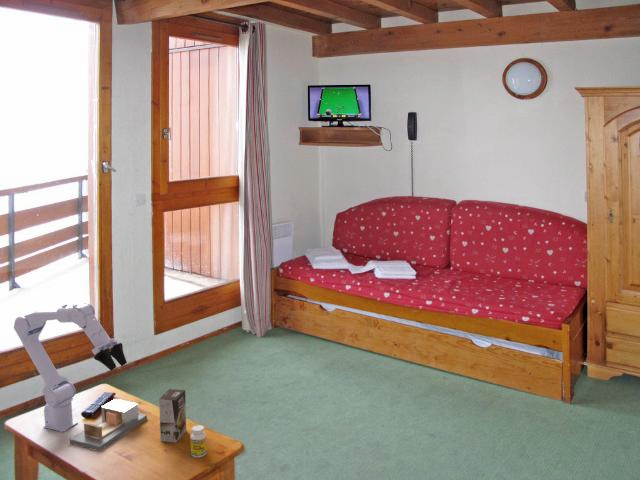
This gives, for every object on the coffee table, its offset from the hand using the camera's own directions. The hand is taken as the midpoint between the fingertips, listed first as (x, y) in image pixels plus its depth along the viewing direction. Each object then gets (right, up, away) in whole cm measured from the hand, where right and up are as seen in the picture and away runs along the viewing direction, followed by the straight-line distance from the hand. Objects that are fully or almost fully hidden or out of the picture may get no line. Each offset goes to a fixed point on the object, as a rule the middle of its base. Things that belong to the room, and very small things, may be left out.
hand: (119, 366), depth 225 cm
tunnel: (-5, -23, +17) cm, 29 cm away
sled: (-8, -24, +11) cm, 28 cm away
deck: (-7, -26, +12) cm, 29 cm away
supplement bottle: (+28, -29, -3) cm, 41 cm away
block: (-6, -23, +15) cm, 28 cm away
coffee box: (+17, -27, +9) cm, 33 cm away
